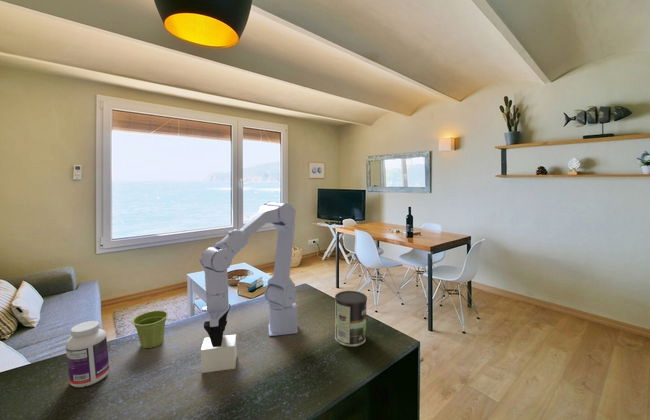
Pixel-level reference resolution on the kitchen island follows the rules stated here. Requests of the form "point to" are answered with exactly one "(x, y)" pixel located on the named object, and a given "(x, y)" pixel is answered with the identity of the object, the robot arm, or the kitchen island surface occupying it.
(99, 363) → the pill bottle
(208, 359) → the white rectangular prism
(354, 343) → the coffee can
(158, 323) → the plant pot
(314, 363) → the kitchen island surface
